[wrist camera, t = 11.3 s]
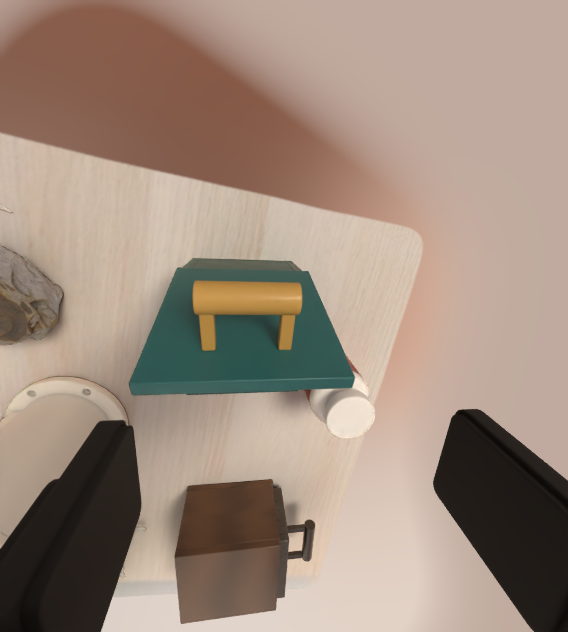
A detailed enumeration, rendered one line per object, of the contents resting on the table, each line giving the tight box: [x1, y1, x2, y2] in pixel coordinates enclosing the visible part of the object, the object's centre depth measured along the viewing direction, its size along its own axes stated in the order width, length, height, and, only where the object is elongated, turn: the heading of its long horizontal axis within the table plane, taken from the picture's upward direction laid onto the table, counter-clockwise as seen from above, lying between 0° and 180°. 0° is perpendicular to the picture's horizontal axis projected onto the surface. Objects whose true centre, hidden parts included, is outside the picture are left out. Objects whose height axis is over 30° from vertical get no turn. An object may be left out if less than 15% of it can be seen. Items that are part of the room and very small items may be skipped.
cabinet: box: [175, 480, 280, 624], centre depth 39 cm, size 12×12×9 cm
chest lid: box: [129, 268, 355, 396], centre depth 18 cm, size 12×11×5 cm
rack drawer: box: [273, 488, 315, 598], centre depth 40 cm, size 15×10×7 cm
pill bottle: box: [305, 356, 375, 439], centre depth 32 cm, size 6×6×11 cm
